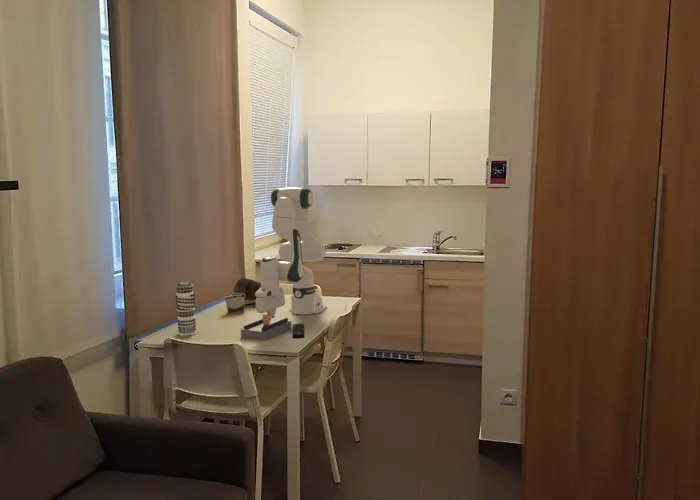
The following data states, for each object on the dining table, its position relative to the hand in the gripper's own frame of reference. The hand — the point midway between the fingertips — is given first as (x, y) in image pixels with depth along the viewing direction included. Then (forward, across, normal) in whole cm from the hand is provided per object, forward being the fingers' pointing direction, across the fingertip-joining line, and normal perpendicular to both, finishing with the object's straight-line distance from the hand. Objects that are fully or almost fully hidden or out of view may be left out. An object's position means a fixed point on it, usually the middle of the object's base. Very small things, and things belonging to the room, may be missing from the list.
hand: (271, 318), depth 295 cm
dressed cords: (+2, +5, 0) cm, 5 cm away
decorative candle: (+7, +18, -37) cm, 42 cm away
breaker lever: (+2, +5, 0) cm, 5 cm away
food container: (+6, -28, -44) cm, 52 cm away
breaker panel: (+6, +4, 0) cm, 8 cm away
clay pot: (+6, -50, -44) cm, 67 cm away
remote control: (+7, -4, +13) cm, 15 cm away
